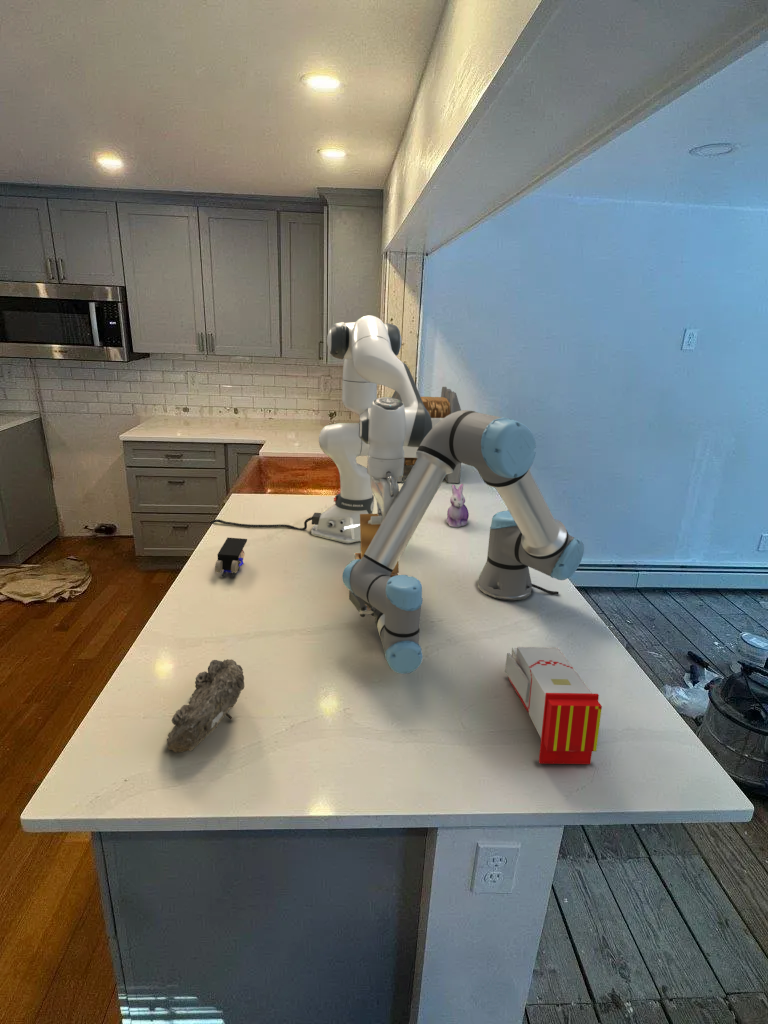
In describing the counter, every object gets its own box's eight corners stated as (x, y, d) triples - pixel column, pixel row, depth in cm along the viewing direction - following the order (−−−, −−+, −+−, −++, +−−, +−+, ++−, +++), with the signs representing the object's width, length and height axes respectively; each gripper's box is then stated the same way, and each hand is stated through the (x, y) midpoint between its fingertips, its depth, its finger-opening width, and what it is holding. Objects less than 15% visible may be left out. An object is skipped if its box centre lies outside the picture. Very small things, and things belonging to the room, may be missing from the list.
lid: (359, 514, 148) (364, 511, 140) (395, 513, 150) (402, 510, 141) (361, 574, 147) (366, 574, 138) (398, 573, 149) (404, 573, 140)
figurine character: (238, 584, 162) (249, 557, 175) (236, 562, 158) (247, 536, 172) (215, 584, 161) (227, 556, 175) (212, 561, 158) (225, 535, 171)
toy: (554, 629, 125) (611, 701, 96) (548, 684, 128) (602, 772, 98) (500, 628, 125) (540, 700, 95) (495, 684, 127) (533, 771, 98)
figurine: (454, 529, 206) (457, 490, 201) (439, 520, 214) (442, 482, 209) (475, 526, 210) (479, 487, 205) (459, 517, 218) (463, 479, 213)
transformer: (382, 463, 289) (386, 382, 275) (445, 464, 293) (451, 384, 279) (390, 482, 257) (394, 392, 243) (460, 483, 261) (468, 394, 247)
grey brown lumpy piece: (192, 660, 117) (244, 628, 112) (224, 691, 120) (276, 661, 115) (142, 746, 98) (202, 712, 93) (182, 779, 101) (242, 748, 96)
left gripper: (406, 478, 128) (403, 535, 133) (390, 456, 147) (388, 506, 152) (379, 479, 127) (377, 536, 132) (366, 456, 146) (365, 507, 151)
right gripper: (344, 639, 130) (335, 593, 151) (438, 634, 134) (417, 590, 155) (345, 611, 128) (336, 568, 148) (440, 606, 132) (419, 565, 152)
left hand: (383, 520), depth 142 cm, fingers open, 4 cm apart
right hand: (377, 579), depth 152 cm, fingers closed on chest, 10 cm apart
